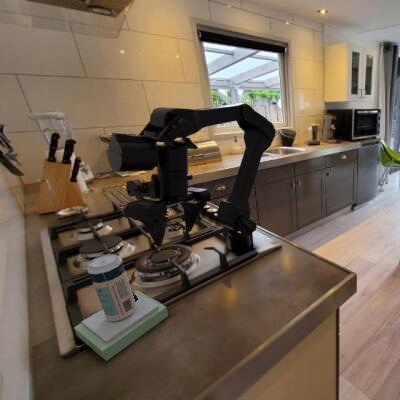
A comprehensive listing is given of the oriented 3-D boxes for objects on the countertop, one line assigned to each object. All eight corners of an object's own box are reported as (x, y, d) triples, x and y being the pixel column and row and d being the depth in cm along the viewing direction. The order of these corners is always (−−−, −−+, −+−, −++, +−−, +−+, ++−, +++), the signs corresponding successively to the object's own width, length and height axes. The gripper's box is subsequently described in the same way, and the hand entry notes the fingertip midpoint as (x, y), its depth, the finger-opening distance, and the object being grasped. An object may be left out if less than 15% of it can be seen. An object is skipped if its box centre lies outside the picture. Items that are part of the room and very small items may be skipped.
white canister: (138, 300, 51) (122, 250, 47) (136, 316, 47) (118, 263, 43) (109, 308, 49) (89, 256, 44) (103, 326, 45) (81, 272, 41)
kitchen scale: (142, 297, 56) (138, 286, 55) (170, 314, 52) (167, 302, 51) (78, 336, 47) (72, 324, 45) (106, 361, 42) (100, 347, 41)
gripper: (171, 162, 63) (173, 220, 67) (95, 168, 45) (103, 248, 49) (212, 167, 62) (211, 227, 65) (149, 177, 44) (153, 258, 47)
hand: (174, 238), depth 57 cm, fingers open, 9 cm apart
